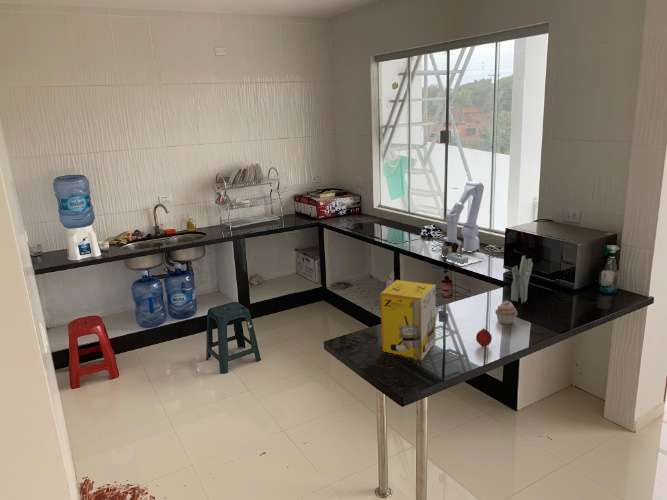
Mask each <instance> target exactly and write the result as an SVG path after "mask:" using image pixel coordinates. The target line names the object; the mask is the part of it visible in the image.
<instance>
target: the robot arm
mask: <svg viewBox="0 0 667 500" xmlns="http://www.w3.org/2000/svg"><path fill="white" fill-rule="evenodd" d="M484 190H485V186H484V184H483V183H482V182H480V181H479V182H477V181H471V180H468V181H467V182H466V184H465V185H464V191H463V193H462V194H461V197H460V199H459V201H458V202H455V203H454V205H453V207H452V209H451V210H450V212H448V213H447V214H446V215H445V218H444V220H445V222H446V225H447V228H446V229H447V230H446V231H447V234H446V235H447V236H443V237H442V241H444V242H443V244H444V246H445V247H447V246H452V252H453V253H456V252H457V249H458V247H459V245H462V241H461V240H459V239H458V222H459V221H460V217H461V214H462V212H463V210H464V208H465V206H464V205H465V203H466V202H467V201H468V199H469V198H470V196H472V200H471V205H470V208H469V213H468V217H467V221H466V222H464V223H463V226H462V227H461V231H460V234H461V235H462V237H463V249H464V250H465V251H474V250H477V249H480V238H479V237H478V236H479V228H480V227H479V225H478V224H477V220H478V216H479V213H480V207H481V203H482V199H483V195H484Z"/></svg>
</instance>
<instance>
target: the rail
mask: <svg viewBox="0 0 667 500" xmlns="http://www.w3.org/2000/svg"><path fill="white" fill-rule="evenodd" d="M462 249H463V245H462V244H461V245H459V247H458V249H457V252H456V253H457V254H461V253H462V254H463V251H462ZM450 253H453V252H452V246H447V247H446V246H444V247H441V256H442V255H443V256H447V254H450Z"/></svg>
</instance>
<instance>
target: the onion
mask: <svg viewBox="0 0 667 500" xmlns="http://www.w3.org/2000/svg"><path fill="white" fill-rule="evenodd" d="M475 337H476V338H475V341H476V342H477V343H478V345H479V346H481V347H482V348H485V347H487V346H489V345H490V344H491V342H492V339H493V337H492V334H491V333H490V331H488V329H486V328H485V327H483V328H482V329H481V330H479V331H478V332H477V334H476V336H475Z"/></svg>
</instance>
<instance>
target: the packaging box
mask: <svg viewBox="0 0 667 500" xmlns="http://www.w3.org/2000/svg"><path fill="white" fill-rule="evenodd" d="M436 290H437V289H436V284H433V283H424V282H417V281H411V280H410V281H409V280H402V279H401V280H400V279H396V280H395V281H394V282H392V283H391V284H389V286H388V287H386V288H384V290H383V291H382V292H380V295H379V296H380V320H381V321H380V323H381V343H382V344H381V347H382V351H384V352H388V353H393V354H398V355H403V356H407V357H412V358H417V359H423V358H424V359H425V357H426V356H427V355H428V353H429V352H430V351H431V349H432V348H433V347H434V345H435V344H436V343H435V342H436V341H437V340H436V339H437V338H436V337H437V333H436V330H437V326H436V323H437V322H436V317H437V316H436V313H437V312H436V309H437V308H436V299H437V298H436V296H437V295H436ZM434 343H435V344H434ZM433 344H434V345H433ZM432 346H433V347H432ZM431 347H432V348H431ZM430 348H431V349H430ZM429 350H430V351H429ZM428 351H429V352H428ZM427 352H428V353H427ZM426 354H427V355H426ZM425 355H426V356H425ZM424 356H425V357H424ZM424 359H423V360H424Z"/></svg>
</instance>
